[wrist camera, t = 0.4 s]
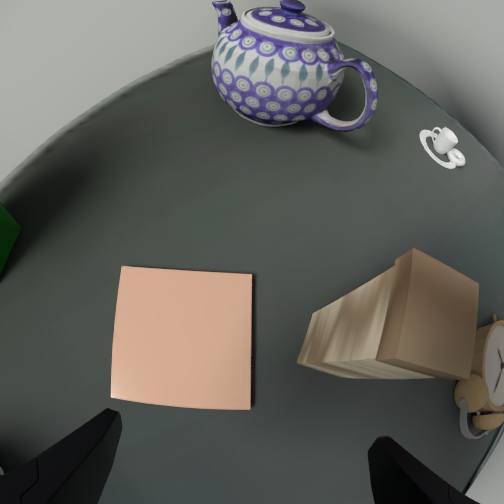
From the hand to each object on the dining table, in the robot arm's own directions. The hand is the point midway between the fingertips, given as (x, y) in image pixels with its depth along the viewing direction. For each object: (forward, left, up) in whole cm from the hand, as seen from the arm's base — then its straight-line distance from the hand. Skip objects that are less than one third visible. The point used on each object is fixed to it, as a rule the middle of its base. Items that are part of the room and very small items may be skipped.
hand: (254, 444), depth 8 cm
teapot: (+26, -21, -14) cm, 36 cm away
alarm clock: (-18, -23, -14) cm, 33 cm away
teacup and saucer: (+7, -42, -14) cm, 45 cm away
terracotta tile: (+6, +1, -14) cm, 15 cm away
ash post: (-1, -9, -14) cm, 16 cm away
